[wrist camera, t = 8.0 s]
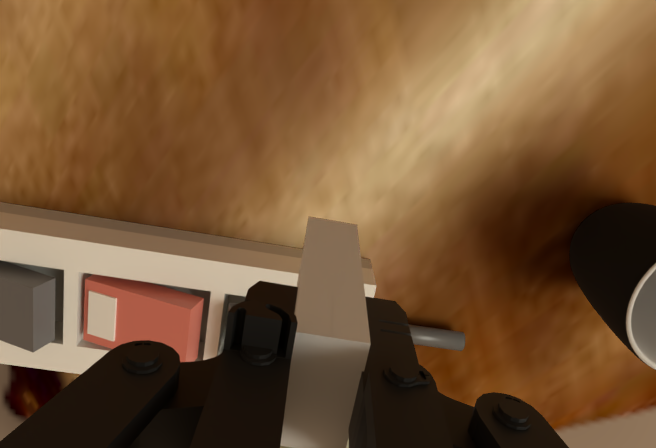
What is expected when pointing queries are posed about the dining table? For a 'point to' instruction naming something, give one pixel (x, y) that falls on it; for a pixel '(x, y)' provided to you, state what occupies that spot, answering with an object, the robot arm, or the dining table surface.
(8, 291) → the rocker
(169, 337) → the rocker mid
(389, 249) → the dining table surface
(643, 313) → the mug
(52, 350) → the strip
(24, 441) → the robot arm
